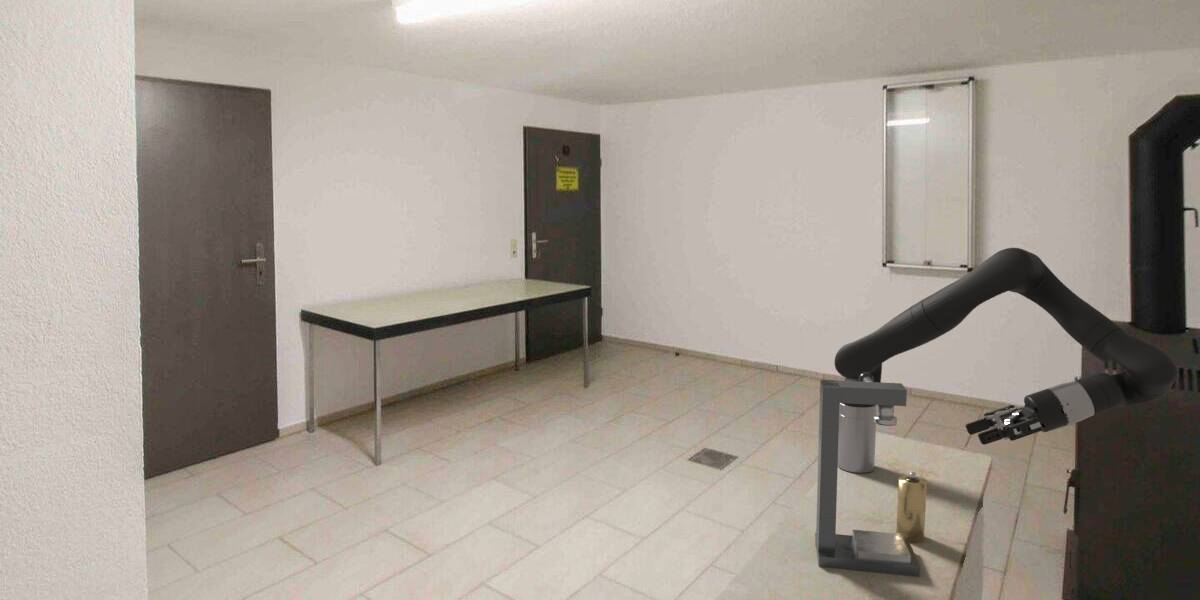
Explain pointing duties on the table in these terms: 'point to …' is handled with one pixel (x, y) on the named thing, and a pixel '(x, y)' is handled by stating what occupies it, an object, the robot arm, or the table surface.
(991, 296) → the robot arm
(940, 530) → the table surface
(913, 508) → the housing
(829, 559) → the press
